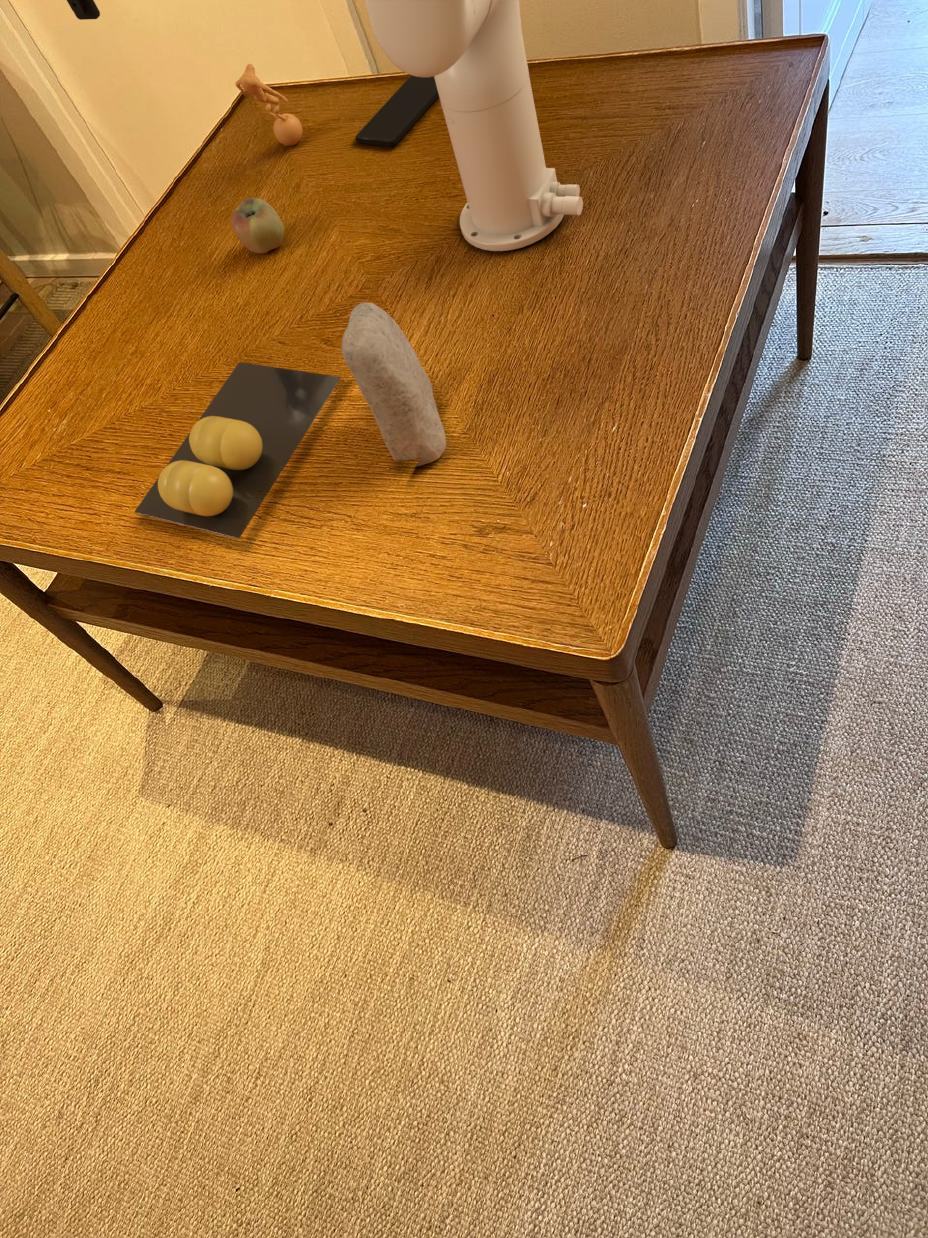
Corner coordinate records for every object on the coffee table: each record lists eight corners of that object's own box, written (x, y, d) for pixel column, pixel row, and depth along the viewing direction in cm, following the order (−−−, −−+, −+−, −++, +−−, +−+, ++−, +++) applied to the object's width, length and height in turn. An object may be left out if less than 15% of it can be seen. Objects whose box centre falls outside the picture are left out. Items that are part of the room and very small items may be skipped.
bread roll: (250, 491, 92) (227, 459, 87) (225, 530, 90) (201, 499, 85) (190, 478, 95) (165, 446, 91) (164, 515, 93) (138, 484, 89)
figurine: (323, 138, 127) (288, 49, 117) (297, 164, 125) (259, 77, 115) (281, 130, 131) (245, 44, 121) (255, 156, 129) (216, 70, 119)
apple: (257, 225, 119) (237, 184, 115) (301, 234, 116) (282, 193, 111) (229, 254, 117) (207, 214, 113) (273, 265, 114) (252, 224, 109)
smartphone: (352, 137, 123) (411, 73, 128) (354, 143, 124) (413, 79, 129) (392, 142, 120) (451, 76, 125) (394, 148, 121) (452, 82, 126)
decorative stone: (387, 398, 96) (336, 283, 84) (441, 384, 95) (398, 265, 83) (391, 475, 90) (337, 362, 78) (449, 461, 89) (404, 345, 77)
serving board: (345, 386, 99) (341, 376, 97) (245, 547, 90) (238, 538, 89) (245, 371, 104) (239, 361, 103) (141, 520, 96) (133, 512, 94)
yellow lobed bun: (279, 447, 94) (258, 413, 90) (255, 484, 92) (232, 451, 88) (219, 435, 97) (196, 402, 93) (195, 471, 95) (171, 438, 91)
